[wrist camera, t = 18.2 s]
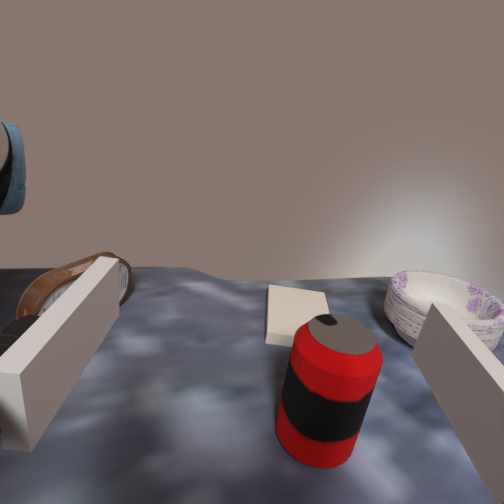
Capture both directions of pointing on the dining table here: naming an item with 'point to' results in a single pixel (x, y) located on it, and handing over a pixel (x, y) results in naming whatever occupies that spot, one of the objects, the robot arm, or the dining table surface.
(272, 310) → the block
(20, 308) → the tin
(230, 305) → the dining table surface
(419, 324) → the paper bowls
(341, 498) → the dining table surface
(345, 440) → the soda can
